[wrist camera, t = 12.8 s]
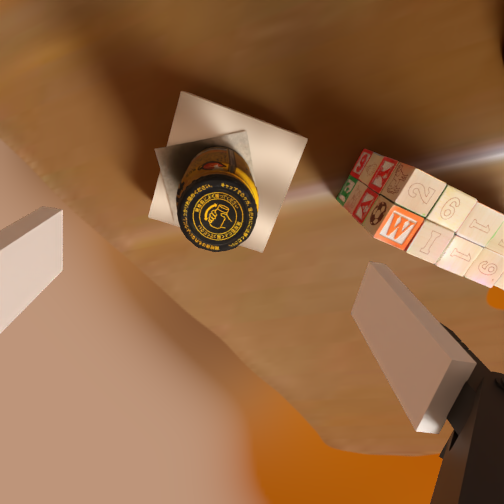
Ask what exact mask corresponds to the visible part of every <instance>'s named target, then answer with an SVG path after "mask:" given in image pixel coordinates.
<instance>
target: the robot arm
mask: <svg viewBox="0 0 504 504" xmlns="http://www.w3.org/2000/svg"><path fill="white" fill-rule="evenodd" d="M62 270H63V210H62V209H57V208H51V207H45V206H42V207H40V208H39V209H37V210H35V211H33V212H32V213H30V214H28V215H26V216H25V217H23V218H21V219H19V220H18V221H16V222H14V223H13V224H11V225H9V226H7V227H5V228H4V229H2V230H0V333H1V332H2V331H3V330H4V329H5V328H6V327H7V326H8V325H9V324H10V323H11V322H12V321H13V320H14V319H15V318H16V317H17V316H18V315H19V314H20V313H21V312H22V311H23V310H24V309H25V308H26V307H27V306H28V305H29V304H30V303H31V302H32V301H33V300H34V299H35V298H36V297H37V296H38V295H39V294H40V293H41V292H42V290H44V289H45V288H46V287H47V286H48V285H49V284H50V283H51V282H52V281H53V280H54V278H56V277H57V275H58V274H60V273H61V271H62ZM351 315H352V316H353V318H354V320H355V322H356V324H357V325H358V327H359V329H360V331H361V333H362V335H363V336H364V338H365V340H366V342H367V344H368V345H369V347H370V349H371V351H372V353H373V354H374V356H375V358H376V360H377V362H378V364H379V365H380V367H381V369H382V371H383V373H384V374H385V376H386V378H387V380H388V382H389V383H390V385H391V387H392V389H393V391H394V393H395V394H396V396H397V398H398V400H399V402H400V403H401V405H402V407H403V409H404V411H405V413H406V414H407V416H408V418H409V420H410V422H411V423H412V425H413V427H414V429H415V431H418V432H427V433H436V434H439V432H440V431H441V429H442V427H443V425H444V423H445V421H446V419H448V421H449V422H450V424H451V425H452V427H453V428H454V431H453V432H452V434H451V436H450V438H449V439H448V441H447V443H446V445H445V447H444V448H443V450H442V452H441V454H440V457H441V458H442V459H443V461H442V465H441V468H440V472H439V475H438V478H437V482H436V486H435V489H434V493H433V496H432V499H431V503H430V504H504V374H502V373H497V372H491V371H490V370H489V369H488V368H487V367H486V366H485V365H484V364H483V363H482V362H481V361H480V360H479V359H478V358H477V357H476V356H475V355H474V353H473V352H472V351H471V350H468V349H469V348H468V347H467V346H466V345H465V344H464V343H463V342H461V340H460V339H459V338H458V337H457V335H456V334H455V333H454V332H453V331H451V330H450V329H448V328H447V327H446V326H444V325H443V324H441V323H439V322H438V321H437V320H436V318H435V317H434V316H433V315H432V314H431V313H430V312H429V311H428V310H427V309H426V308H425V307H424V305H423V304H422V303H421V302H420V301H419V300H418V299H417V298H416V297H415V296H414V295H413V294H412V292H411V291H410V290H409V289H408V288H407V287H406V286H405V285H404V284H403V283H402V282H401V281H400V279H399V278H398V277H397V276H396V275H395V274H394V273H393V272H392V271H391V270H390V269H389V268H388V266H387V265H386V264H382V263H376V262H370V261H369V263H368V266H367V269H366V272H365V275H364V278H363V280H362V283H361V286H360V289H359V292H358V295H357V297H356V300H355V303H354V306H353V309H352V311H351Z"/></svg>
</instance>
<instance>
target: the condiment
mask: <svg viewBox="0 0 504 504" xmlns="http://www.w3.org/2000/svg"><path fill="white" fill-rule="evenodd" d="M155 153H156V156H157V159H158V163H159V166H160V170H161V173H162V177H163V180H164V184H165V188H166V191H167V194H168V199H169V202H170V206H171V209H172V213H173V217H174V221H175V224H178V223H179V225H180V228H181V230H182V232H183V233H184V235H185V236H186V238H187V239H188V240H189V241H191V242H192V243H193V244H194V245H195V246H196V247H198V248H202V249H205V250H209V251H212V252H220V251H227V250H230V249H234V248H236V247H237V246H238V245H240V244H241V243H243V242H244V241H246V240H247V239H248V238H249V236H250V235H251V233H252V231H253V229H254V227H255V224H256V219H257V216H258V215H257V214H258V209H259V208H260V205H259V195H258V190H257V187H256V182H255V176H254V170H253V165H252V159H251V153H250V147H249V141H248V135H247V131H245V132H239V133H234V134H229V135H224V136H218V137H213V138H208V139H203V140H198V141H193V142H187V143H182V144H177V145H172V146H167V147H162V148H157V149H155Z"/></svg>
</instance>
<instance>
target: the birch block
mask: <svg viewBox="0 0 504 504" xmlns="http://www.w3.org/2000/svg"><path fill="white" fill-rule="evenodd" d="M245 131H247V135H248V141H249V147H250V153H251V159H252V165H253V170H254V176H255V182H256V187H257V190H258V195H259V205H260V208H259V209H258V214H257V215H258V216H257V219H256V224H255V227H254V229H253V231H252V233H251V235H250V236H249V238H248V239H247V240H246V241H244V242H243V243H241V244H240V246H243V247H246V248H249V249H253V250H256V251H259V252H262V253H263V251H264V248H265V246H266V243H267V241H268V238H269V236H270V233H271V231H272V228H273V226H274V223H275V221H276V218H277V216H278V213H279V211H280V208H281V206H282V203H283V201H284V198H285V196H286V193H287V191H288V188H289V186H290V183H291V181H292V178H293V176H294V173H295V170H296V168H297V165H298V163H299V160H300V158H301V155H302V153H303V150H304V148H305V145H306V143H307V140H308V139H307V138H305V137H303V136H301V135H299V134H297V133H294V132H292V131H289V130H286V129H284V128H281V127H278V126H276V125H273V124H271V123H268V122H265V121H263V120H260V119H257V118H255V117H252V116H249V115H247V114H244V113H242V112H239V111H236V110H234V109H231V108H228V107H226V106H223V105H221V104H218V103H215V102H213V101H210V100H207V99H205V98H202V97H200V96H197V95H194V94H192V93H189V92H185V91H181V93H180V97H179V101H178V105H177V108H176V112H175V116H174V120H173V124H172V128H171V131H170V135H169V139H168V143H167V146H172V145H177V144H182V143H187V142H193V141H198V140H203V139H208V138H213V137H218V136H224V135H229V134H234V133H239V132H245ZM148 217H149V218H152V219H156V220H159V221H162V222H165V223H169V224H172V225H175V226H178V227H180V225H179V223H178V224H175V221H174V217H173V213H172V209H171V206H170V202H169V199H168V194H167V191H166V188H165V184H164V180H163V177H162V173H161V170H160V174H159V177H158V181H157V185H156V189H155V193H154V197H153V201H152V204H151V208H150V212H149V216H148Z"/></svg>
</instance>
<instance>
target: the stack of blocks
mask: <svg viewBox="0 0 504 504" xmlns="http://www.w3.org/2000/svg"><path fill="white" fill-rule="evenodd" d="M336 200H337V201H338V202H339V203H340V204H341V205H342V206H343V207H344V208H346V209H347V210H348V211H349V212H350V213H351V214H352V216H353V217H354V218H355V219H356V220H357V222H359V223H360V224H361V225H362V226H363V227H364V228H365V229H366V230H367V231H368V232H369V233H370V234H371V236H372V237H374V238H376V239H378V240H380V241H383V242H385V243H387V244H390V245H392V246H394V247H396V248H399V249H401V250H404V251H405V252H407V253H408V254H411V255H413V256H416V257H418V258H421V259H423V260H425V261H428V262H430V263H433V264H434V265H436V266H437V267H440V268H442V269H445V270H447V271H450V272H452V273H455V274H457V275H459V276H464V277H465V278H468V279H470V280H472V281H475V282H477V283H480V284H482V285H484V286H487V287H489V288H491V287H492V286H493V285H494V286H497V287H499V288H501V289H503V290H504V213H501V212H499V211H496V210H494V209H492V208H490V207H488V206H486V205H484V204H481V203H479V202H478V201H477V199H476V198H474V197H472V196H470V195H468V194H466V193H464V192H462V191H460V190H458V189H456V188H454V187H452V186H450V185H447V184H446V183H445V182H443V181H441V180H439V179H437V178H435V177H433V176H432V175H430V174H428V173H426V172H424V171H422V170H420V169H418V168H416V167H413V166H410V165H408V164H405V163H401V162H399V161H397V160H395V159H392V158H389V157H386V156H382V155H380V154H378V153H376V152H373V151H370V150H367V149H363V151H362V153H361V155H360V156H359V158H358V160H357V162H356V163H355V165H354V167H353V169H352V171H351V172H350V175H349V177H348V179H347V181H346V182H345V184H344V186H343V188H342V189H341V191H340V193H339V195H338V196H337V198H336Z"/></svg>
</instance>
